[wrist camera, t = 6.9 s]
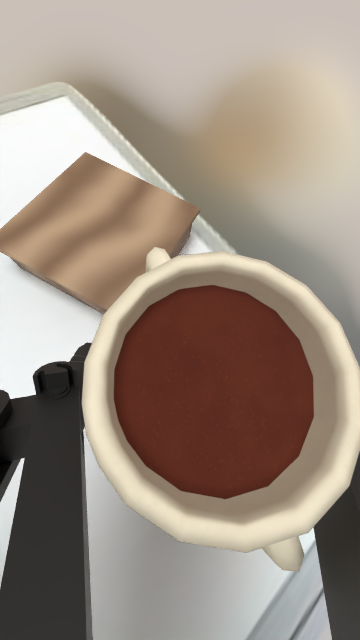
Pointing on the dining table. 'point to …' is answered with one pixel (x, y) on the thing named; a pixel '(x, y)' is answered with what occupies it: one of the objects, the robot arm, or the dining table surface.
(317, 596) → the dining table surface
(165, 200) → the walnut stand
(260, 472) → the character mug
